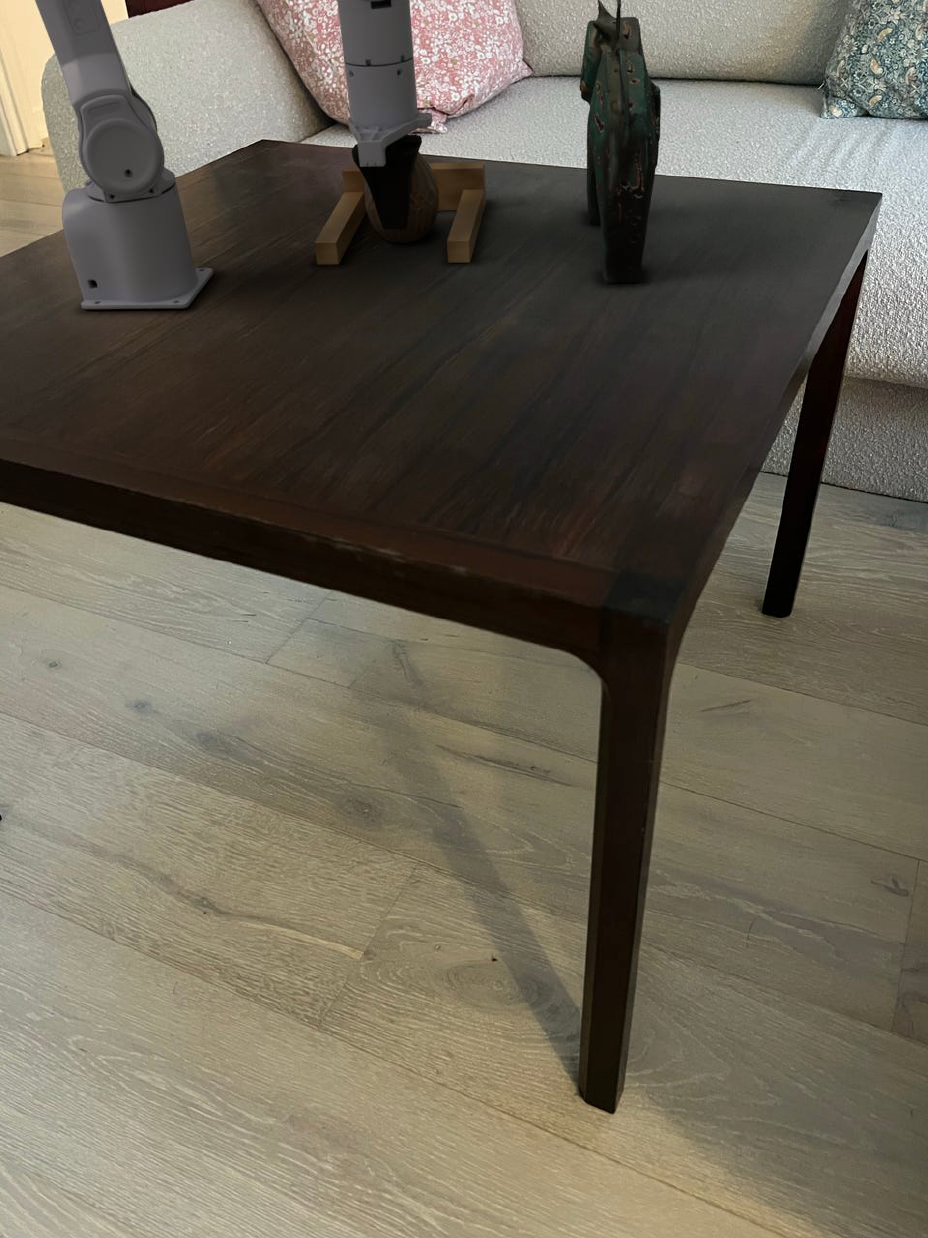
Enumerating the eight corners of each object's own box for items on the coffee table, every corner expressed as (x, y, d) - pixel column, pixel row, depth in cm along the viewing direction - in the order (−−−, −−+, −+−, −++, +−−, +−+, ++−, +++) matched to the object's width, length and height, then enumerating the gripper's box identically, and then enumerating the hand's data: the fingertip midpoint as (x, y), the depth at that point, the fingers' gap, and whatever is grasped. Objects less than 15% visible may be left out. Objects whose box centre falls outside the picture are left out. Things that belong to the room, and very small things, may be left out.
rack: (317, 264, 92) (310, 219, 90) (350, 205, 104) (345, 164, 102) (470, 262, 91) (468, 217, 88) (486, 203, 103) (484, 161, 100)
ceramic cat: (575, 209, 100) (579, -30, 87) (641, 206, 100) (655, -34, 87) (587, 288, 85) (594, 13, 72) (665, 285, 84) (686, 8, 72)
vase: (414, 252, 93) (406, 150, 87) (354, 242, 96) (342, 143, 90) (455, 228, 97) (449, 130, 92) (396, 219, 100) (387, 123, 95)
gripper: (414, 77, 77) (428, 256, 86) (438, 38, 88) (448, 199, 97) (323, 81, 78) (346, 257, 87) (358, 41, 89) (375, 200, 98)
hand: (394, 226), depth 92 cm, fingers closed
